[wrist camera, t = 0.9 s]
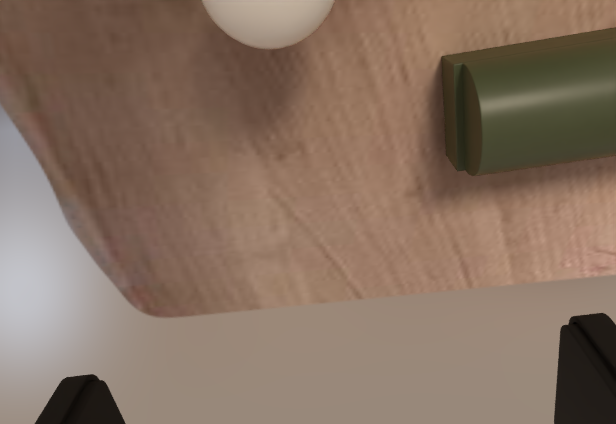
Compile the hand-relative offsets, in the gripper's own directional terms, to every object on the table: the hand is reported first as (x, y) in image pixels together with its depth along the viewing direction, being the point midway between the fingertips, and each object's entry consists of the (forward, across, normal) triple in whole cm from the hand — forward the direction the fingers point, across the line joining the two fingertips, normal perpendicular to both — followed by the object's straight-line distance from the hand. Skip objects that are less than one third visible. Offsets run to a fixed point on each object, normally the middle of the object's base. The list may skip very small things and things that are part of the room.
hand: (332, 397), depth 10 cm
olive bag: (+24, -15, +2) cm, 29 cm away
